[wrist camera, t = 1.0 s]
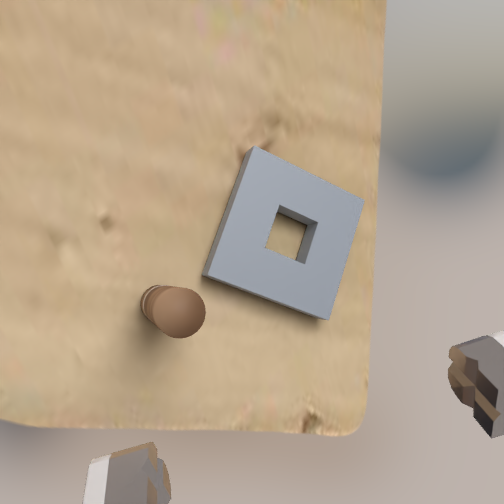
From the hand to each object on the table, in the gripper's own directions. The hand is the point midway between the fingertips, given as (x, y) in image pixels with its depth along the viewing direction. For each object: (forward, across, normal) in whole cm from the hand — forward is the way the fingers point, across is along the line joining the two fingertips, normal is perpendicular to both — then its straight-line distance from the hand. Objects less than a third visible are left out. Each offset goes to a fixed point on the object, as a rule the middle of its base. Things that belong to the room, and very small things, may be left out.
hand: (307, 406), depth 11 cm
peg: (+27, +8, +13) cm, 31 cm away
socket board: (+32, -6, +12) cm, 34 cm away
